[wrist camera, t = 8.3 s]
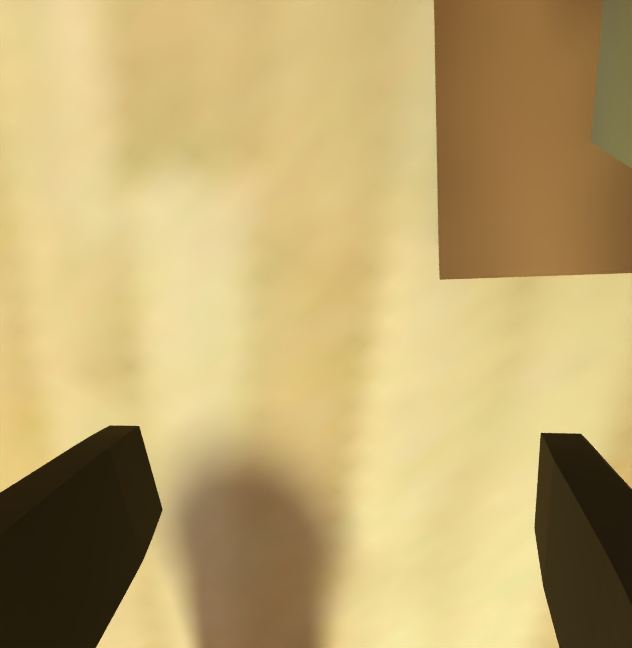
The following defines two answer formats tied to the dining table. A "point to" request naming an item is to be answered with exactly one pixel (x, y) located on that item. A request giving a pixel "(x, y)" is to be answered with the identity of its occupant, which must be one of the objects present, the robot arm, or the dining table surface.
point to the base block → (524, 143)
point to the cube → (614, 82)
